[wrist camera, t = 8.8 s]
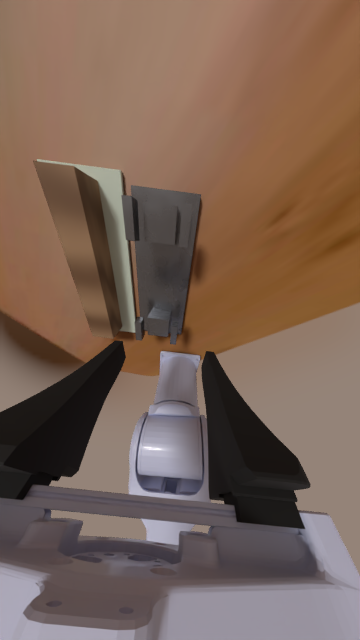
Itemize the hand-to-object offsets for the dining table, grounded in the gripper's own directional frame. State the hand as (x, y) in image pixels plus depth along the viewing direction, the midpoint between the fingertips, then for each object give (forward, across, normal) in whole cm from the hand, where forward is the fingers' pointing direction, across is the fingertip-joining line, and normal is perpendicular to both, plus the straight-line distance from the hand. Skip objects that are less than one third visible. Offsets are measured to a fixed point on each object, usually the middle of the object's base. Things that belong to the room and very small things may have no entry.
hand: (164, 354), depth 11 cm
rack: (+10, +2, -3) cm, 11 cm away
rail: (+10, +10, -3) cm, 15 cm away
